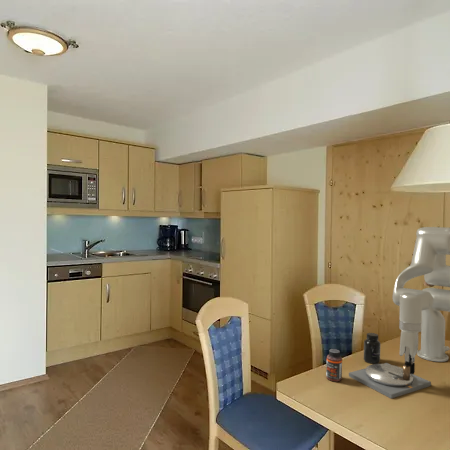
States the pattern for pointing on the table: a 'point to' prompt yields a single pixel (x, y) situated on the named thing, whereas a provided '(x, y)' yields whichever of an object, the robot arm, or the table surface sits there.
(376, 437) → the table surface
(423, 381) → the base plate
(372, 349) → the supplement bottle
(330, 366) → the supplement bottle
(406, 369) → the dial
